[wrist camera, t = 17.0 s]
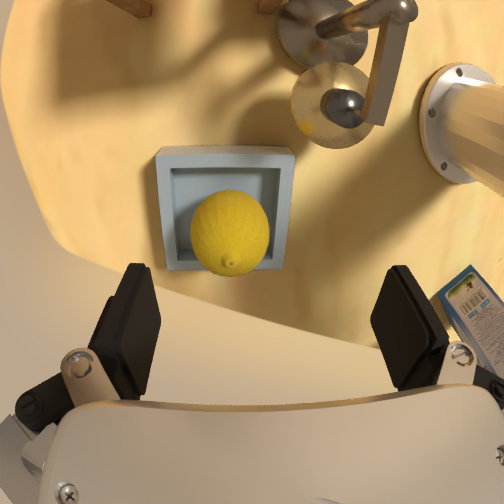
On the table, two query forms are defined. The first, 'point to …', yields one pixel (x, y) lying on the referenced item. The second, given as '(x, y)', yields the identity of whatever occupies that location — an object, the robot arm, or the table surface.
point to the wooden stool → (139, 7)
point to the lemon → (229, 233)
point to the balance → (343, 64)
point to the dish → (218, 179)
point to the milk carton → (476, 317)
